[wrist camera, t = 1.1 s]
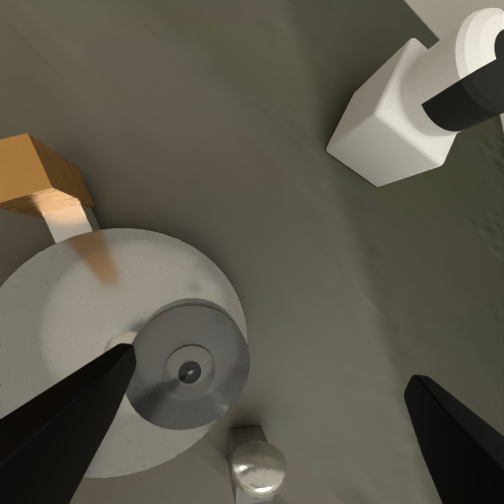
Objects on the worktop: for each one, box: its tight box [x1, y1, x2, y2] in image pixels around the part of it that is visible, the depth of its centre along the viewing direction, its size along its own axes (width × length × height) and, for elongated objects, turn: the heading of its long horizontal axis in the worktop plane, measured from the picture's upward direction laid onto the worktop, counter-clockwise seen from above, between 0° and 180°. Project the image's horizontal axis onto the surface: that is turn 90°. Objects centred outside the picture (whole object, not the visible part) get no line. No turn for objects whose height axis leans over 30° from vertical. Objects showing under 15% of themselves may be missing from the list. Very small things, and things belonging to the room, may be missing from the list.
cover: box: [126, 298, 250, 430], centre depth 17 cm, size 8×8×4 cm
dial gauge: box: [228, 426, 286, 504], centre depth 20 cm, size 4×4×6 cm
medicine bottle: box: [326, 8, 504, 187], centre depth 20 cm, size 7×7×12 cm
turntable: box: [0, 133, 247, 478], centre depth 17 cm, size 23×18×6 cm
